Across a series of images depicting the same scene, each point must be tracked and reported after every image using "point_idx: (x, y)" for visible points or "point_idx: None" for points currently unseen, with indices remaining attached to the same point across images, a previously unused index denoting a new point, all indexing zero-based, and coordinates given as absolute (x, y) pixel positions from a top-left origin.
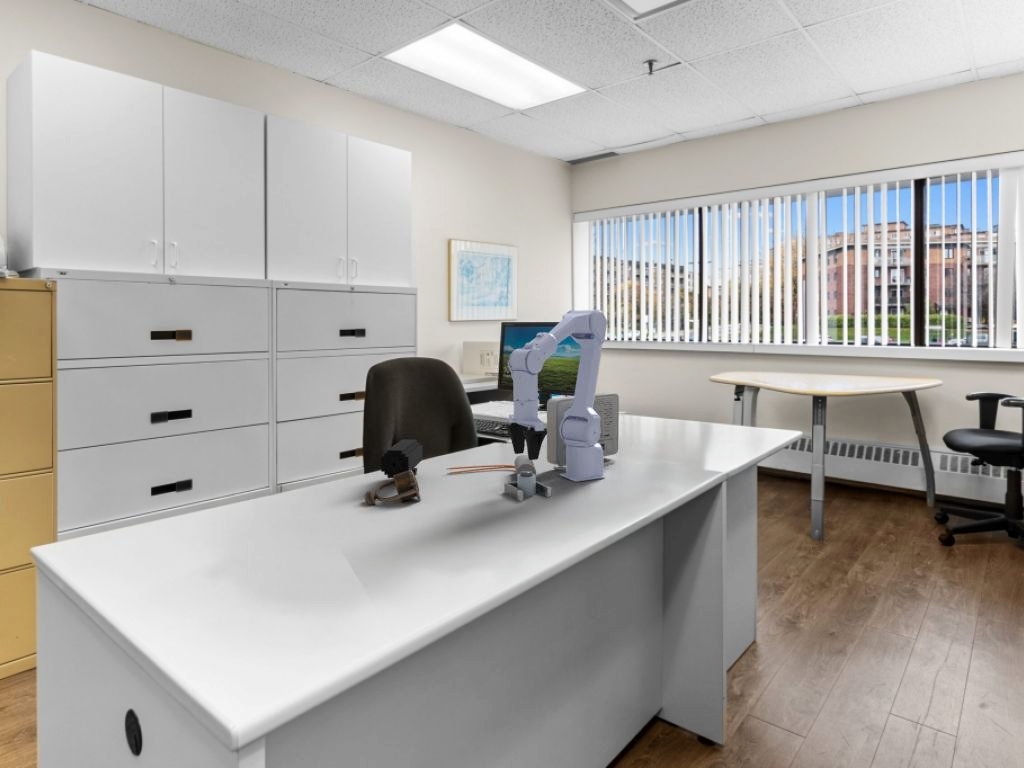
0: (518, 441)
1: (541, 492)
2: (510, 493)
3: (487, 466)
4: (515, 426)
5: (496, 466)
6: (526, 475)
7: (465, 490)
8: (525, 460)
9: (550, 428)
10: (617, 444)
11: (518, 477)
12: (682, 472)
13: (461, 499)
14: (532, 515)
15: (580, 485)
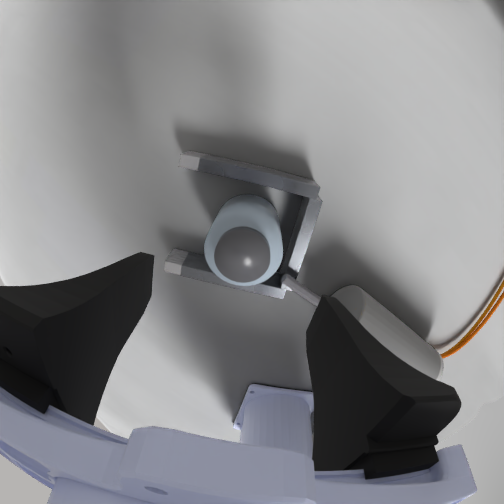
0: (330, 360)
1: None
2: (263, 168)
3: (494, 307)
4: (363, 441)
5: (479, 325)
6: (220, 237)
7: (419, 107)
8: None
9: None
10: None
11: (249, 213)
12: None
13: (340, 24)
14: (68, 105)
15: (220, 374)
